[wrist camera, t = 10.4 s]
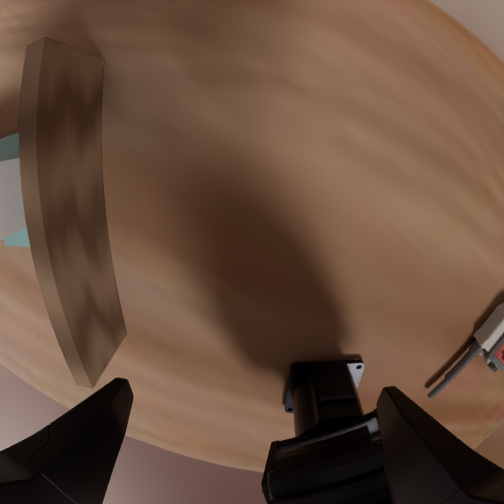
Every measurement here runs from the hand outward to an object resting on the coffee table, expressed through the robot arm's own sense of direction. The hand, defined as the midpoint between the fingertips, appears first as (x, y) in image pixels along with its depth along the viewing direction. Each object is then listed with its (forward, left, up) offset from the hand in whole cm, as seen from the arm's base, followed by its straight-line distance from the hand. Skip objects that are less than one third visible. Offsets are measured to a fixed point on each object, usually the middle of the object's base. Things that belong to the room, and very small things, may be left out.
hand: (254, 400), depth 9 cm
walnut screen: (+4, +12, -12) cm, 17 cm away
